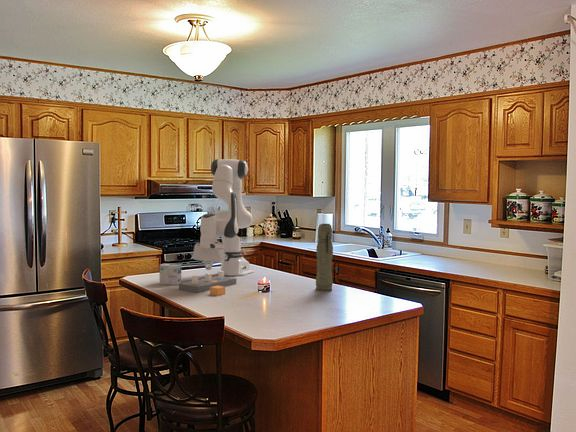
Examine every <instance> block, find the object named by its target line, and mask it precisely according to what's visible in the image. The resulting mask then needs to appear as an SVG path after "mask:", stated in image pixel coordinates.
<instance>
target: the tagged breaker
mask: <svg viewBox="0 0 576 432" xmlns="http://www.w3.org/2000/svg"><path fill="white" fill-rule="evenodd" d="M204 275H205V277H204V278H205V281H207V282H210V281H212V277H213V276H212V275H213V274H212V273H209V272H207V273H205V274H204Z"/></svg>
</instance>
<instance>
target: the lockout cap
mask: <svg viewBox="0 0 576 432" xmlns="http://www.w3.org/2000/svg"><path fill="white" fill-rule="evenodd" d="M209 294H210V295H212V296H217V297H218V296H223V295H226V286H225V287H223V286H213V287H210V290H209Z"/></svg>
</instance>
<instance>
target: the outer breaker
mask: <svg viewBox="0 0 576 432" xmlns="http://www.w3.org/2000/svg"><path fill="white" fill-rule="evenodd" d="M198 280H199V275H191V281H192V284H198Z"/></svg>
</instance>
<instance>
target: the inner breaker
mask: <svg viewBox="0 0 576 432" xmlns="http://www.w3.org/2000/svg"><path fill="white" fill-rule="evenodd" d="M217 276H218V279H224V277H225V275H224V271H220V270H218V271H217Z"/></svg>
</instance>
